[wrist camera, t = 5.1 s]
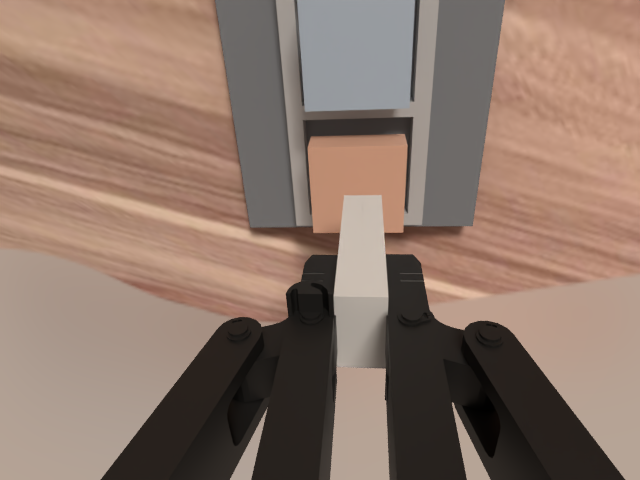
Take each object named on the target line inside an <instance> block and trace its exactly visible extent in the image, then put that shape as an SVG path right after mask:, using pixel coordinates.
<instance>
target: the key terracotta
mask: <svg viewBox="0 0 640 480" xmlns="http://www.w3.org/2000/svg"><path fill="white" fill-rule="evenodd" d="M407 148H408V145H407V141H406V137H405V134H384V135H346V136H311V138H310V141H309V145H308V162H309V176H310V190H311V204H312V219H313V233H340V230H341V221H342V211H343V201H344V195H382V209H383V223H384V233H403V226H404V206H405V187H406V167H407Z"/></svg>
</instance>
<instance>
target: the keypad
mask: <svg viewBox="0 0 640 480" xmlns="http://www.w3.org/2000/svg"><path fill="white" fill-rule="evenodd" d="M215 3H216V9H217V16H218V22H219V29H220V35H221V42H222V48H223V55H224V61H225V68H226V74H227V81H228V87H229V94H230V100H231V106H232V113H233V119H234V126H235V132H236V139H237V145H238V152H239V158H240V165H241V171H242V178H243V184H244V191H245V197H246V203H247V210H248V216H249V223H250V227H313V219H312V204H311V190H310V176H309V162H308V145H309V141H310V138H311V136H346V135H384V134H405V137H406V141H407V145H408V148H407V167H406V187H405V206H404V226H473V219H474V212H475V205H476V198H477V191H478V184H479V177H480V170H481V163H482V156H483V149H484V143H485V136H486V129H487V122H488V115H489V108H490V101H491V94H492V87H493V80H494V73H495V66H496V59H497V52H498V45H499V38H500V31H501V24H502V17H503V10H504V3H505V0H415V11H414V30H413V50H412V69H411V89H410V108H404V109H373V110H342V111H310V112H305V105H304V90H303V76H302V62H301V48H300V33H299V19H298V5H297V0H215Z"/></svg>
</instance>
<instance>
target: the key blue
mask: <svg viewBox="0 0 640 480" xmlns="http://www.w3.org/2000/svg"><path fill="white" fill-rule="evenodd" d="M297 5H298V19H299V33H300V48H301V62H302V76H303V90H304V105H305V112H310V111H342V110H373V109H404V108H410V89H411V69H412V50H413V30H414V11H415V0H297Z"/></svg>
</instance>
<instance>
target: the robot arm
mask: <svg viewBox="0 0 640 480" xmlns="http://www.w3.org/2000/svg"><path fill="white" fill-rule="evenodd" d="M286 299H287V308H288V318H287V319H286V320H284V321H282V322H280V323H277V324H274V325H269V326H265V327H261V324H260V323H259V322H258V321H257V320H254V319H252V318H248V317H239V318H234V319H231V320H229V321H227V322H225V323H223V324H222V325H221V326H220V327H219V328H218V329H217V330H216V332H215V333H214V334H213V335H212V337H211V338H210V339H209V341H208V342H207V343H206V345H205V346H204V347H203V348H202V350H201V351H200V352H199V353H198V355H197V356H196V357H195V359H194V360H193V361H192V362H191V364H190V365H189V366H188V368H187V369H186V370H185V372H184V373H183V374H182V375H181V377H180V378H179V379H178V381H177V382H176V383H175V384H174V386H173V387H172V388H171V390H170V391H169V392H168V393H167V395H166V396H165V397H164V399H163V400H162V401H161V403H160V404H159V405H158V406H157V408H156V409H155V410H154V412H153V413H152V414H151V416H150V417H149V418H148V419H147V421H146V422H145V423H144V425H143V426H142V427H141V428H140V430H139V431H138V432H137V434H136V435H135V436H134V437H133V439H132V440H131V441H130V443H129V444H128V445H127V447H126V448H125V449H124V450H123V452H122V453H121V454H120V456H119V457H118V458H117V459H116V461H115V462H114V463H113V465H112V466H111V467H110V468H109V470H108V471H107V472H106V474H105V475H104V476H103V477H102V479H101V480H230V478H231V476H232V474H233V472H234V470H235V468H236V466H237V464H238V463H239V460H240V459H241V457H242V455H243V453H244V451H245V449H246V447H247V445H248V443H249V441H250V440H251V437H252V436H253V434H254V432H255V430H256V428H257V426H258V424H259V422H260V420H261V418H262V417H263V415H264V413H265V411H266V409H267V407H268V409H267V413H266V417H265V422H264V427H263V431H262V435H261V440H260V444H259V448H258V453H257V457H256V462H255V466H254V471H253V475H252V480H330V470H331V455H332V442H333V441H332V440H333V427H334V413H335V399H336V384H337V374H336V366H337V367H357V368H386V384H385V400H386V405H387V426H388V449H389V450H388V452H389V474H390V480H467V479H466V474H465V468H464V463H463V458H462V453H461V448H460V443H459V438H458V433H457V427H456V423H455V418H454V412H453V408H452V402H453V403H454V405H455V408H456V410H457V412H458V414H459V417H460V419H461V420H462V423H463V424H464V427H465V429H466V431H467V433H468V435H469V437H470V439H471V441H472V443H473V444H474V447H475V449H476V451H477V453H478V455H479V457H480V459H481V461H482V463H483V465H484V467H485V469H486V471H487V473H488V475H489V477H490V479H491V480H625V479H624V478H623V476H622V475H621V474H620V472H619V471H618V470H617V469H616V467H615V466H614V465H613V463H612V462H611V461H610V459H609V458H608V457H607V455H606V454H605V453H604V451H603V450H602V449H601V448H600V446H599V445H598V444H597V442H596V441H595V440H594V439H593V437H592V436H591V435H590V433H589V432H588V431H587V429H586V428H585V427H584V425H583V424H582V423H581V422H580V420H579V419H578V418H577V416H576V415H575V414H574V412H573V411H572V410H571V409H570V407H569V406H568V405H567V403H566V402H565V401H564V399H563V398H562V397H561V396H560V394H559V393H558V392H557V390H556V389H555V388H554V386H553V385H552V384H551V383H550V381H549V380H548V379H547V377H546V376H545V375H544V373H543V372H542V371H541V369H540V368H539V367H538V366H537V364H536V363H535V362H534V360H533V359H532V358H531V356H530V355H529V354H528V352H527V351H526V350H525V349H524V347H523V346H522V345H521V343H520V342H519V341H518V340H517V338H516V337H515V335H514V334H513V333H512V332H511V331H510V330H509V329H507V328H506V327H504V326H502V325H500V324H498V323H494V322H490V321H477V322H474V323H470V324H469V325H468V326H467V327H466V328H465V330H460V329H456V328H452V327H450V326H446V325H444V324H442V323H440V322H439V321H438V320H436V319H435V318H434V315H433V314H432V312H430V310H429V305H428V300H427V295H426V289H425V284H424V279H423V274H422V268H421V263H420V262H419V261H418V260H417V258H416V257H415V256H414V255H399V254H386V253H385V238H384V223H383V209H382V195H344V201H343V211H342V221H341V230H340V240H339V249H338V255H312V256H311V257H310V258H309V259H308V260H307V261H306V262H305V265H304V270H303V274H302V279H301V282H299V283H296V284H294V285H293V286H291V287H290V288H289V289H288V291H287V293H286Z"/></svg>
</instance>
